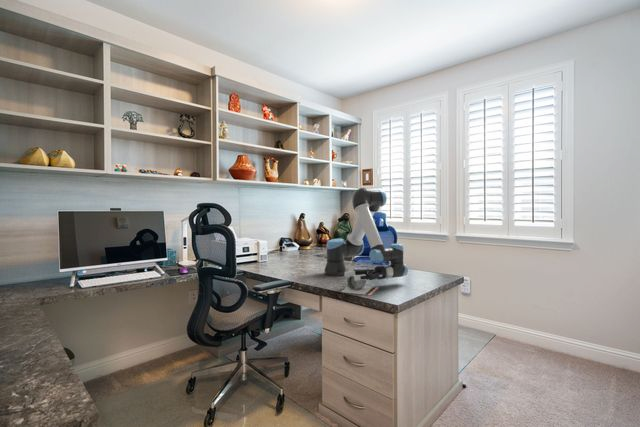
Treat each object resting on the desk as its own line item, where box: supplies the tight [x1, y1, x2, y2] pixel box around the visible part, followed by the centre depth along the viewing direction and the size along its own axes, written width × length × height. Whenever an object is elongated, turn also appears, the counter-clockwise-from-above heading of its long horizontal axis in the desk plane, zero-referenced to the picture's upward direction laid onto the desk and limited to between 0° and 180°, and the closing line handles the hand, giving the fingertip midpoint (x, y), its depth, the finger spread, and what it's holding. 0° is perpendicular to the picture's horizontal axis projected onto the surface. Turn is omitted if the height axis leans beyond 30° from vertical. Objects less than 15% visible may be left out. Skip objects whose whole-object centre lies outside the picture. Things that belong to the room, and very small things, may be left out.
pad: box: [341, 285, 374, 296], centre depth 180 cm, size 15×13×1 cm
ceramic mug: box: [346, 275, 367, 290], centre depth 182 cm, size 11×8×8 cm
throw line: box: [367, 286, 380, 297], centre depth 176 cm, size 17×2×1 cm, turn 155°
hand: (349, 276), depth 178 cm, fingers open, 10 cm apart
